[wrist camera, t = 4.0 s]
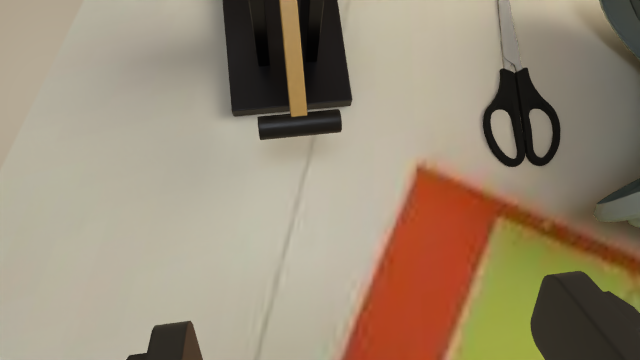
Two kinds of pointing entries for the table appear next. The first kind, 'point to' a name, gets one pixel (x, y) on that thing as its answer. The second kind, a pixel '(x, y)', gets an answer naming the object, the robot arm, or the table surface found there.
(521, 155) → the scissors
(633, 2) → the grey curved shell
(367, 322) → the table surface
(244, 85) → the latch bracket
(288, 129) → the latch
